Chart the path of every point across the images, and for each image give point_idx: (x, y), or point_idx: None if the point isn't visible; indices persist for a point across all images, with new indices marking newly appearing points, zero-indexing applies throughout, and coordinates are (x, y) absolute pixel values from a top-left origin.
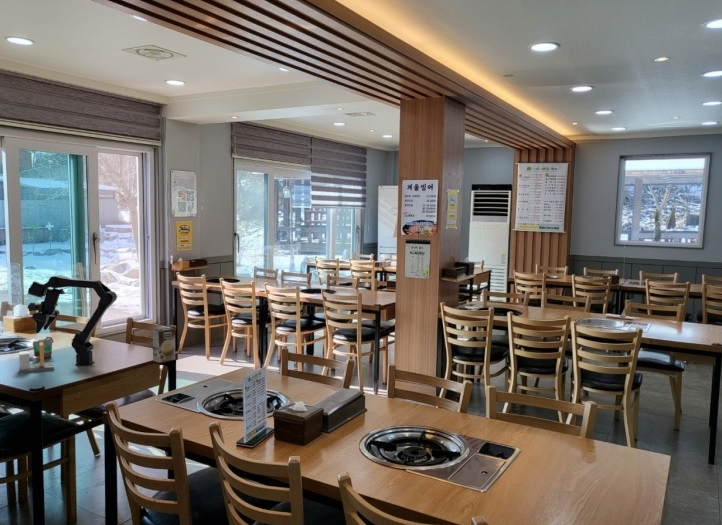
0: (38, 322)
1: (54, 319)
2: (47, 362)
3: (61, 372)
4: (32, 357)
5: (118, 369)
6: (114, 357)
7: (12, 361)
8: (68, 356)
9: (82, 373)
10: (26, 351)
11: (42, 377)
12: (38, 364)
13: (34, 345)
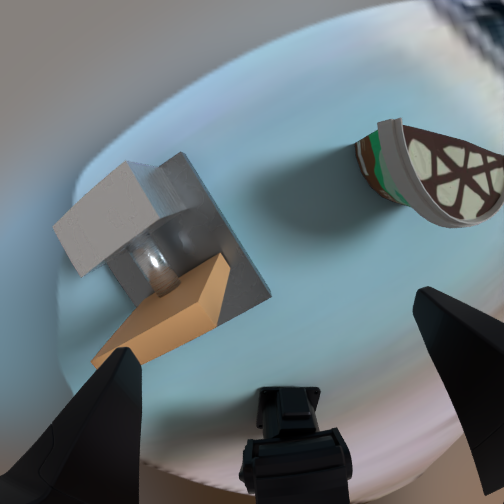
0: (47, 497)
1: (482, 472)
2: (252, 276)
3: (150, 380)
4: (137, 259)
5: (222, 487)
6: (377, 436)
7: (323, 45)
8: (427, 274)
9: (158, 436)
10: (133, 213)
11: (79, 342)
12: (205, 250)
13: (379, 137)
